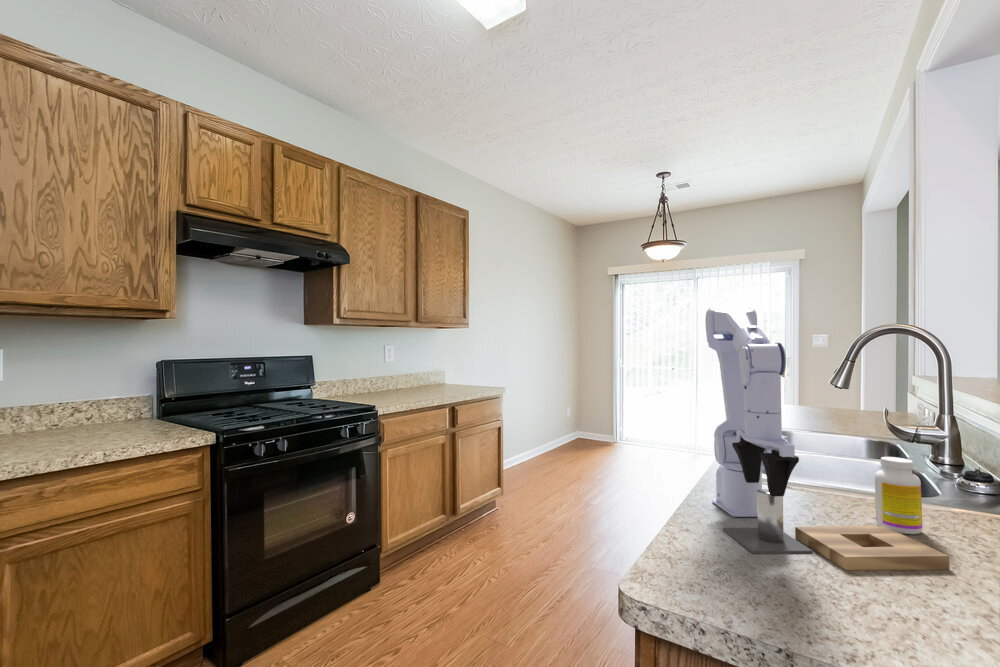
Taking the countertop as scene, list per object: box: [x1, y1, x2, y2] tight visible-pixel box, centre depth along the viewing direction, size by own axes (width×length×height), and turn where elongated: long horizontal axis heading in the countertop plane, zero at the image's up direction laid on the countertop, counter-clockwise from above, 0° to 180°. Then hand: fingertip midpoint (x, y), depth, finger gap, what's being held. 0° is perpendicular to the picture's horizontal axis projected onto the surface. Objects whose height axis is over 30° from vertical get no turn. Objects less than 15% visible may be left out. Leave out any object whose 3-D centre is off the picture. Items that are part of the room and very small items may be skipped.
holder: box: [794, 525, 950, 571], centre depth 78 cm, size 12×16×2 cm
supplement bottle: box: [874, 456, 923, 535], centre depth 88 cm, size 7×7×13 cm
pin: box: [756, 488, 785, 543], centre depth 83 cm, size 4×4×8 cm
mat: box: [722, 527, 814, 555], centre depth 83 cm, size 10×10×1 cm
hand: (763, 488), depth 83 cm, fingers open, 7 cm apart
